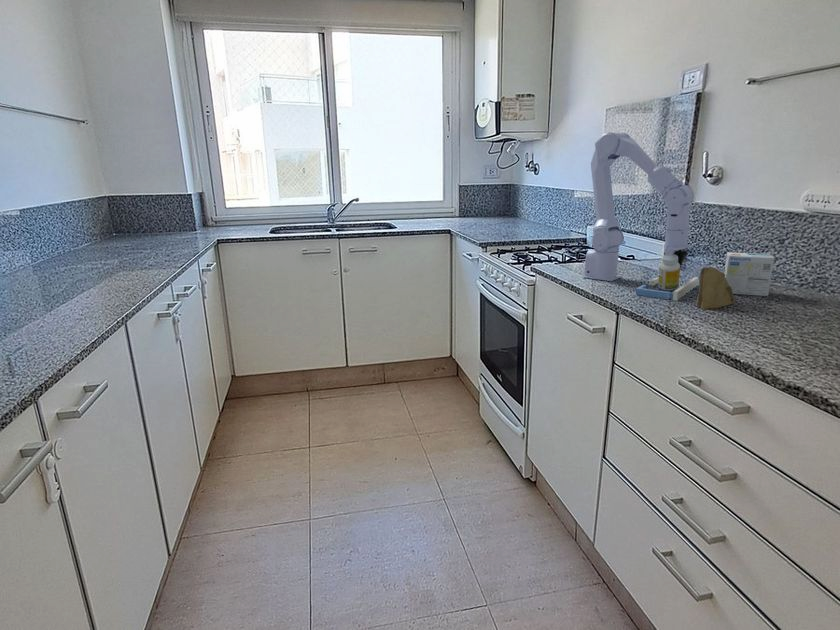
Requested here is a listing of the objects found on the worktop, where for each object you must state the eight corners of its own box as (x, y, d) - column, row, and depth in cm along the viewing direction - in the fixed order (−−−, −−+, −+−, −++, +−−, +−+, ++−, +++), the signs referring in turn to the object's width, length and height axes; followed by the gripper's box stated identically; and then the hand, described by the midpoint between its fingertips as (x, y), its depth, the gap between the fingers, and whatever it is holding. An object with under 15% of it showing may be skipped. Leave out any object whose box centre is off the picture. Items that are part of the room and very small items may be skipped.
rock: (730, 291, 134) (690, 285, 136) (746, 270, 127) (703, 264, 129) (735, 324, 128) (693, 317, 130) (751, 303, 121) (706, 297, 123)
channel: (633, 294, 142) (634, 286, 141) (657, 280, 157) (658, 273, 156) (676, 300, 135) (677, 291, 134) (697, 285, 150) (698, 277, 149)
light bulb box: (764, 291, 142) (771, 253, 139) (768, 296, 136) (775, 257, 133) (720, 288, 147) (726, 251, 143) (723, 293, 141) (728, 255, 138)
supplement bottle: (654, 287, 148) (655, 258, 143) (665, 280, 150) (666, 251, 145) (672, 293, 144) (673, 263, 139) (682, 285, 146) (684, 255, 141)
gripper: (685, 233, 136) (682, 282, 139) (698, 226, 146) (695, 272, 150) (657, 232, 140) (655, 280, 144) (672, 226, 151) (669, 271, 154)
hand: (673, 276), depth 147 cm, fingers closed, pressing on supplement bottle
